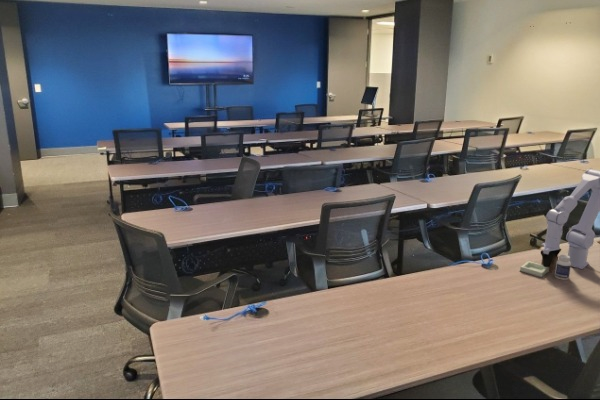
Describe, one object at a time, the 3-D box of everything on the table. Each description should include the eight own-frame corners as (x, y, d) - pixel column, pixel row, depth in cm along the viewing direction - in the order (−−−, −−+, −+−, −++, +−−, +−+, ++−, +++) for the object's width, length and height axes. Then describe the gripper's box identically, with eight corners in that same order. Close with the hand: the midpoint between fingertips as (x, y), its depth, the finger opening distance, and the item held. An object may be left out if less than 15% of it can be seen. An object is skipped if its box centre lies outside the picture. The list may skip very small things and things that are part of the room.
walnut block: (544, 265, 207) (546, 253, 206) (556, 268, 204) (558, 256, 202) (540, 268, 204) (542, 256, 202) (552, 272, 200) (554, 259, 199)
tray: (527, 265, 208) (528, 260, 207) (548, 271, 202) (549, 266, 201) (519, 271, 202) (520, 266, 201) (541, 277, 196) (542, 272, 195)
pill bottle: (570, 280, 192) (574, 259, 190) (556, 279, 193) (560, 258, 191) (566, 275, 197) (569, 254, 195) (552, 274, 199) (555, 253, 196)
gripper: (549, 230, 207) (544, 258, 211) (537, 237, 198) (533, 266, 201) (566, 234, 203) (561, 262, 206) (555, 242, 193) (550, 271, 196)
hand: (548, 265), depth 203 cm, fingers open, 5 cm apart
